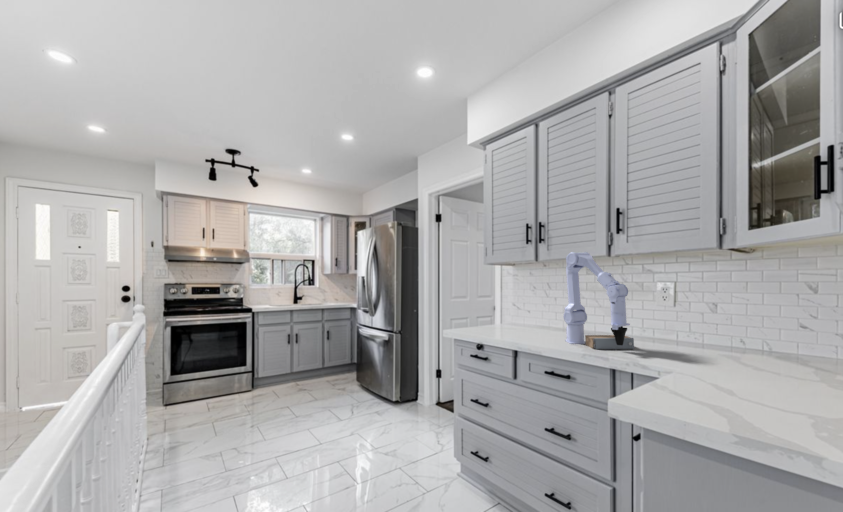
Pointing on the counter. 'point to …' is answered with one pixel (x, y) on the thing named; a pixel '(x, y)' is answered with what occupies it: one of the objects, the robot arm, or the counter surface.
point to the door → (613, 343)
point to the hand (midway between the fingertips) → (619, 344)
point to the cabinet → (590, 337)
